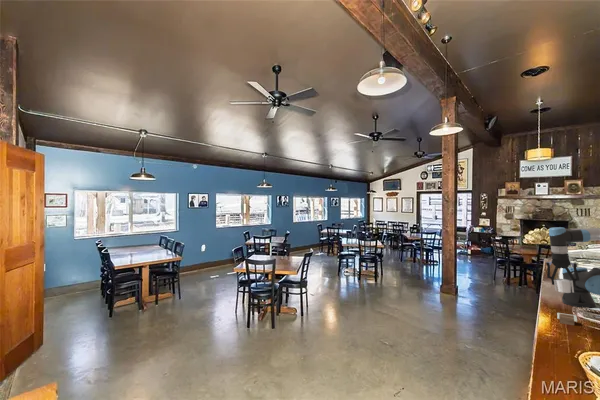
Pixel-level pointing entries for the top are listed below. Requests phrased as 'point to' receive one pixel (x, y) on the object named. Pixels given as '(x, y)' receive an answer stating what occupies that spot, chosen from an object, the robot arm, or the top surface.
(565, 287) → the white cup
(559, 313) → the board
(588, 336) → the top surface
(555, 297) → the top surface
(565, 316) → the housing
